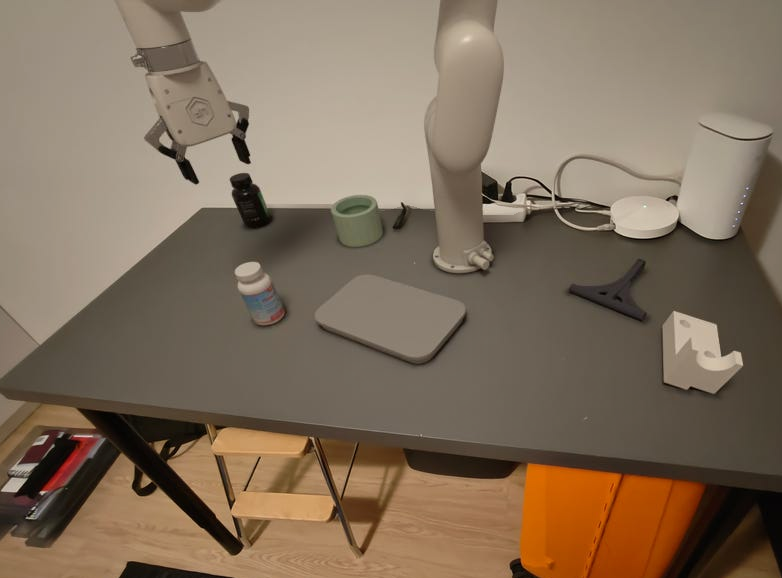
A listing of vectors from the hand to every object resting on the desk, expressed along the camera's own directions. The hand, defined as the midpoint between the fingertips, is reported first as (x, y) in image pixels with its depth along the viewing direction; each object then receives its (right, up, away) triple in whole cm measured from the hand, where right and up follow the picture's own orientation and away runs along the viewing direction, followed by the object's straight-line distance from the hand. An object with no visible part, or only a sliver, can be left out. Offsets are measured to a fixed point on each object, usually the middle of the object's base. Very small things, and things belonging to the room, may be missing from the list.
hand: (220, 172), depth 80 cm
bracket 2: (+78, -33, -8) cm, 85 cm away
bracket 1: (+73, -19, +7) cm, 76 cm away
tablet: (+29, -26, +6) cm, 39 cm away
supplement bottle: (-9, +3, +39) cm, 40 cm away
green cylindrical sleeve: (+19, -3, +29) cm, 35 cm away
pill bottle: (+5, -25, +10) cm, 27 cm away
